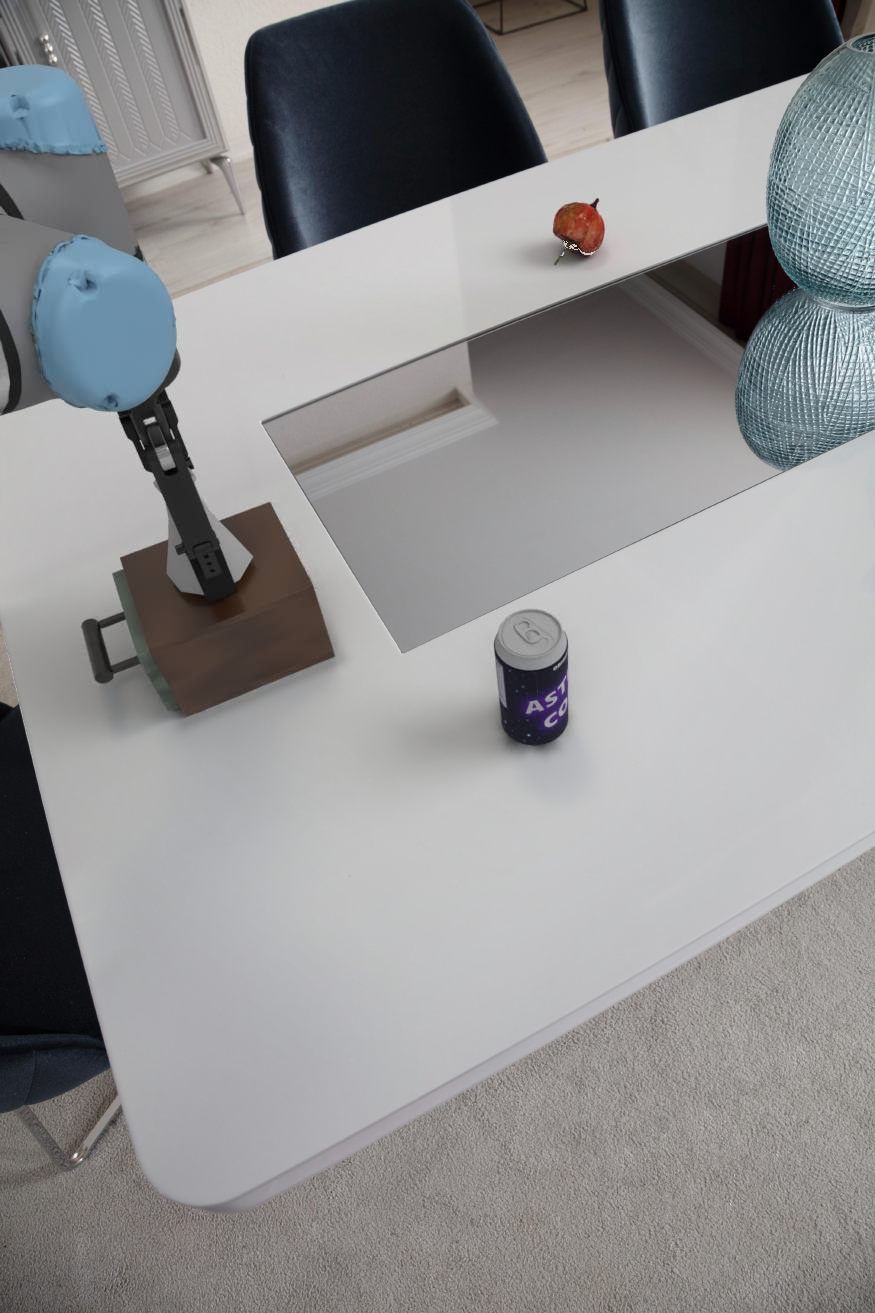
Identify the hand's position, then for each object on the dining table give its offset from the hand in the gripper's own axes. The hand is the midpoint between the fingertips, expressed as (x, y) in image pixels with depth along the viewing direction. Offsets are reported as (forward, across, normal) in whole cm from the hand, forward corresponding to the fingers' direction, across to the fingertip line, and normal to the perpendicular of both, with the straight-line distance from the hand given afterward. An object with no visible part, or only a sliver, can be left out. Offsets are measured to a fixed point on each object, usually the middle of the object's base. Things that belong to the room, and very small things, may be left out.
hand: (209, 565), depth 81 cm
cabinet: (+10, 0, 0) cm, 10 cm away
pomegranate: (+10, -45, +62) cm, 78 cm away
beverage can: (+11, +22, +20) cm, 32 cm away
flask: (0, 0, 0) cm, 0 cm away
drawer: (+10, 0, -4) cm, 10 cm away
